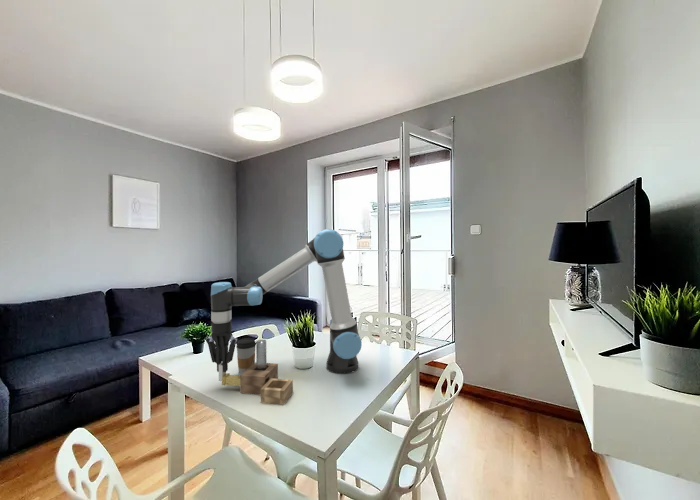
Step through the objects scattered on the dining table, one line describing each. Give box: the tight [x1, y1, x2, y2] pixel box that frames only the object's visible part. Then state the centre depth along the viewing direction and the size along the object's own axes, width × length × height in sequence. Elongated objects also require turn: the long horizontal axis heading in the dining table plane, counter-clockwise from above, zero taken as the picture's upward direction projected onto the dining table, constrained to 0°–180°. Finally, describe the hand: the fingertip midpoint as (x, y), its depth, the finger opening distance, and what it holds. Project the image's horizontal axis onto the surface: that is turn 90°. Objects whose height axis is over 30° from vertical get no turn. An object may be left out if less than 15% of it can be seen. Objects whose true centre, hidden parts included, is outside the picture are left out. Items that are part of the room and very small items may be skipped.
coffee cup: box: [235, 337, 256, 375], centre depth 132 cm, size 8×8×15 cm
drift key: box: [221, 372, 240, 387], centre depth 117 cm, size 13×3×3 cm, turn 81°
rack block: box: [260, 378, 294, 405], centre depth 111 cm, size 9×9×5 cm
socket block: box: [239, 362, 279, 396], centre depth 120 cm, size 10×13×7 cm
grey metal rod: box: [255, 339, 268, 371], centre depth 121 cm, size 4×4×18 cm
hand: (222, 379), depth 118 cm, fingers closed
